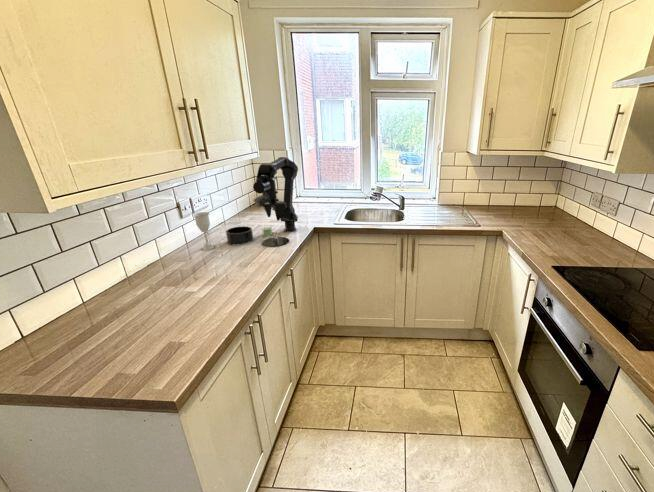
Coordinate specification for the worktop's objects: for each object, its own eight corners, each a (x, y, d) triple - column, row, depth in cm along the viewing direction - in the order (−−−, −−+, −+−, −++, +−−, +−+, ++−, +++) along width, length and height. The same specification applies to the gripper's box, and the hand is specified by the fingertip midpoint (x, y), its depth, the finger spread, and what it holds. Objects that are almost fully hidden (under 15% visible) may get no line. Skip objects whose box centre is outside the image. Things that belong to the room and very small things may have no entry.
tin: (231, 237, 175) (229, 226, 173) (255, 236, 178) (253, 225, 175) (225, 246, 164) (223, 234, 161) (251, 244, 166) (249, 233, 164)
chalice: (209, 251, 157) (201, 216, 150) (197, 250, 158) (189, 215, 151) (219, 246, 164) (212, 212, 157) (207, 245, 165) (200, 211, 158)
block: (264, 234, 182) (264, 227, 180) (272, 233, 183) (271, 227, 181) (263, 236, 178) (262, 229, 177) (271, 236, 179) (270, 229, 177)
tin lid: (264, 239, 174) (263, 229, 171) (290, 238, 176) (289, 227, 174) (260, 248, 161) (259, 237, 159) (288, 247, 164) (286, 236, 162)
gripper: (246, 189, 161) (250, 218, 167) (264, 194, 150) (268, 225, 156) (266, 186, 169) (269, 214, 175) (285, 191, 157) (288, 221, 163)
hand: (273, 218), depth 167 cm, fingers open, 9 cm apart
